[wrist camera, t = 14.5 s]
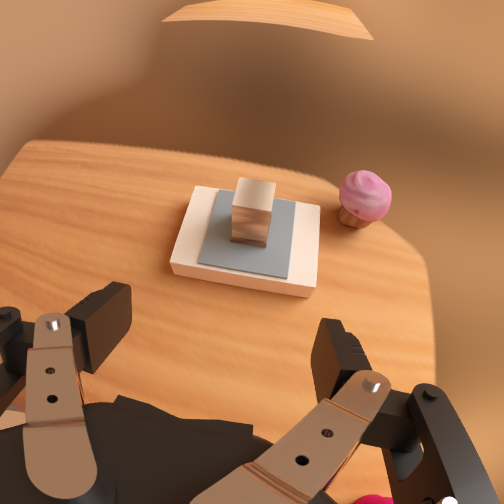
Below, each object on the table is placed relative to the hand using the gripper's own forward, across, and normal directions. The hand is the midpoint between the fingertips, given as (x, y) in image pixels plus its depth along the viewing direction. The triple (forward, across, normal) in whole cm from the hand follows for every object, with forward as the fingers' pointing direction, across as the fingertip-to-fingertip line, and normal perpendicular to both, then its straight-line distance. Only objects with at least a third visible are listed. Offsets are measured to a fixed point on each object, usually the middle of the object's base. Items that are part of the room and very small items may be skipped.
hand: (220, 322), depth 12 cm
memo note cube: (+31, 0, +2) cm, 31 cm away
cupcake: (+41, -17, -1) cm, 44 cm away
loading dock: (+34, 0, +5) cm, 35 cm away
